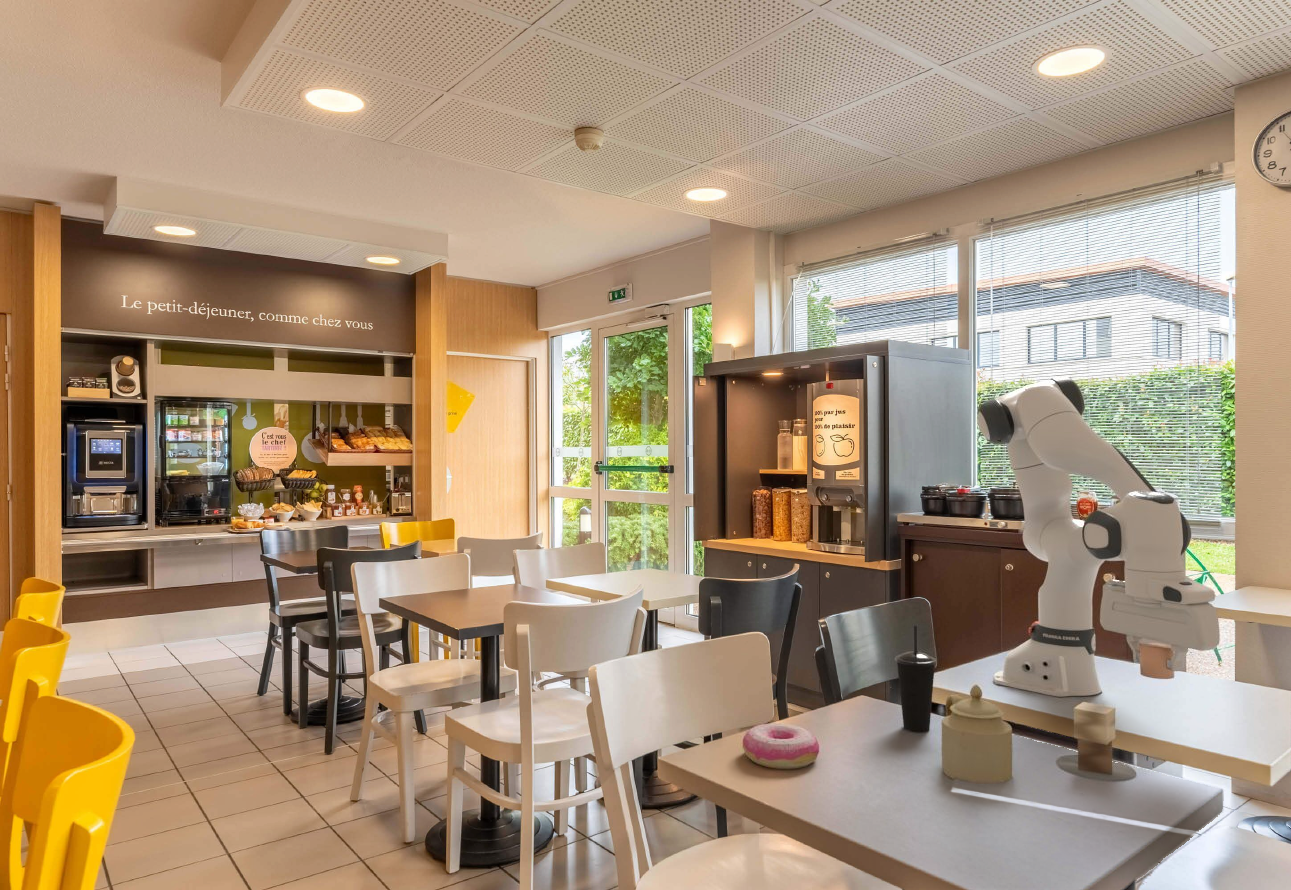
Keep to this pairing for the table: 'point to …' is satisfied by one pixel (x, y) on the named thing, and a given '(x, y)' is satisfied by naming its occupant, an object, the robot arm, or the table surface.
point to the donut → (780, 746)
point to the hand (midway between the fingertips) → (1157, 665)
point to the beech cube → (1094, 723)
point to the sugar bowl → (976, 740)
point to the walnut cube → (1095, 757)
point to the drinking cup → (916, 687)
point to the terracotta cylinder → (1155, 660)
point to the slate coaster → (1118, 772)
